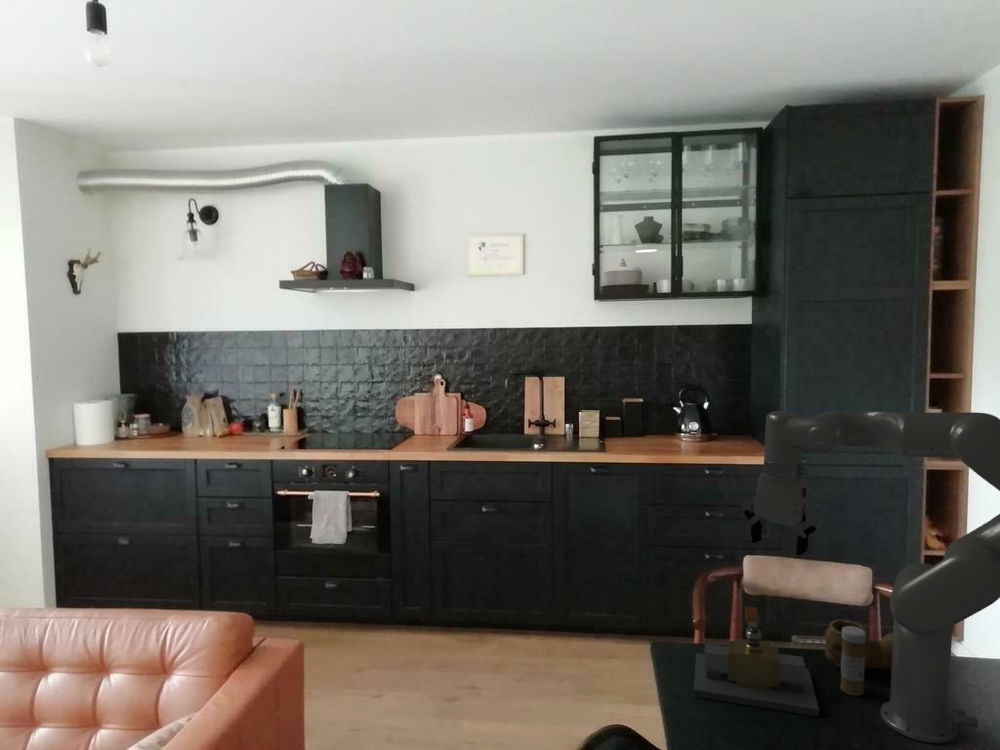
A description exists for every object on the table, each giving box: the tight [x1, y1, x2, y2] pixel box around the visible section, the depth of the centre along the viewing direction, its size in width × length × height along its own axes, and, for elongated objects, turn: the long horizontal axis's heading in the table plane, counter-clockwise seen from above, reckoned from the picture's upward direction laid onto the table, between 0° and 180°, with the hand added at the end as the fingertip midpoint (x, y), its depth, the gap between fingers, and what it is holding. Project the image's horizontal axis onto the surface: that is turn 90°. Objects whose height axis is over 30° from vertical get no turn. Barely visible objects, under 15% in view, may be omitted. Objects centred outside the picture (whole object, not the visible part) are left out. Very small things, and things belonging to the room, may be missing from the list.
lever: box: [744, 605, 763, 641], centre depth 148 cm, size 14×3×2 cm, turn 162°
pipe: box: [824, 619, 893, 671], centre depth 149 cm, size 9×16×10 cm, turn 83°
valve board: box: [693, 652, 820, 717], centre depth 143 cm, size 24×16×2 cm, turn 72°
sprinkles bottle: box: [839, 626, 866, 697], centre depth 140 cm, size 5×5×13 cm
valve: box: [704, 637, 806, 692], centre depth 143 cm, size 20×7×9 cm, turn 72°
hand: (778, 547), depth 143 cm, fingers open, 9 cm apart
